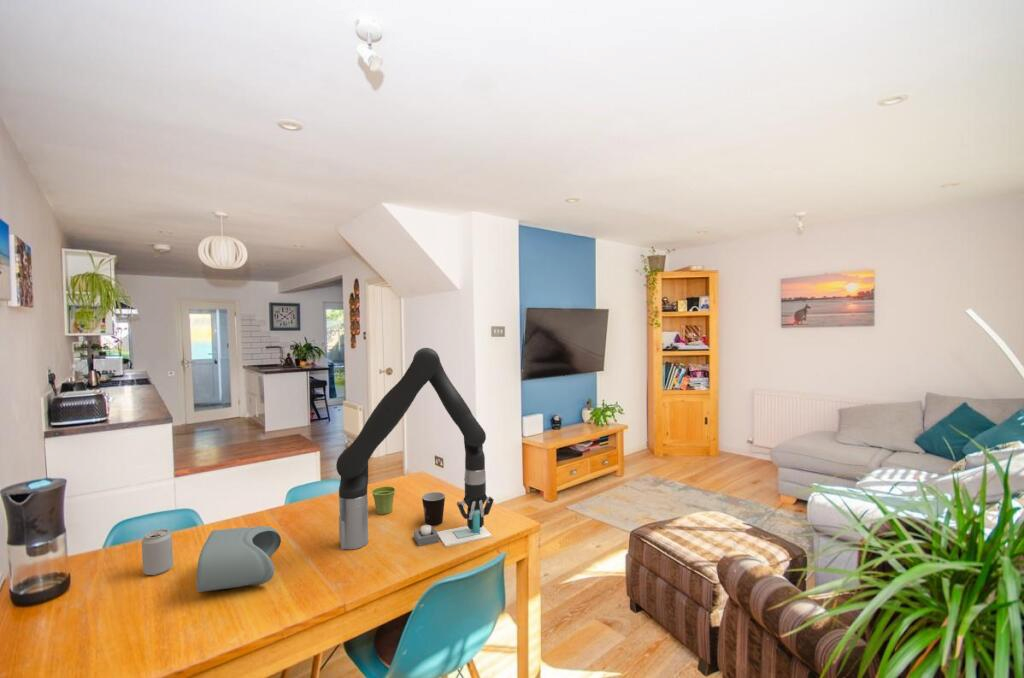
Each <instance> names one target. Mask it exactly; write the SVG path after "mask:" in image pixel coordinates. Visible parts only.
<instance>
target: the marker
mask: <svg viewBox="0 0 1024 678" xmlns="http://www.w3.org/2000/svg"><path fill="white" fill-rule="evenodd" d="M472 520H473V529H472V530H471V532H473V533H478V532H480V509H475V510H474V513H473V516H472Z"/></svg>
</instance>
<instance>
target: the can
mask: <svg viewBox="0 0 1024 678" xmlns="http://www.w3.org/2000/svg"><path fill="white" fill-rule="evenodd" d="M173 551H174V550H173V534H172V533H171V532H170V530H169V529H168V528H158V529H155V530H151V531H148V532H147V533H145V534H144V535H143V539H142V540H141V553H142V554H141V556H142V558H141V559H142V573H143V574H145V575H147V576H148V575H154V576H158V575H157V574H159V575H162V574H164V572H165V573H166V572H168V571H169V570H170V569H171V568H172V567H173V566H174V553H173ZM167 570H168V571H167ZM161 573H162V574H161Z"/></svg>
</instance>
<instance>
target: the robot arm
mask: <svg viewBox="0 0 1024 678" xmlns="http://www.w3.org/2000/svg"><path fill="white" fill-rule="evenodd" d="M428 382H429V384H431V386H432V388H433V389H434V391H435V392H436V394H437V396H438V398H439V400H440V402H441V403H442V405H443V407H444V409H445V411H446V413H447V414H448V415H449V416H450V418H451V420H452V421H453V423H454V424H455V425H456V426H457V427H458V429H459V431H460V432H461V434H462V436H463V444H464V445H463V446H464V451H465V452H464V454H465V455H464V478H463V479H464V497H463V500H462V501H458V502H456V506H457V508H458V510H459V513H460V514H461V517H463V519H465V520H466V521H467V522H466V524H467V525H466V526H468V528H469V529H470V530H472V529H473V520H472V516H473V513H474V510H475V509H480V528H481V527H482V526H484V523H485V521H484V520H485V519H484V517H485V516H486V515H487V516H488V515H489V514H490V513H491V512H490V511H491V509H492V505H493V504H494V498H492V496H487V494H486V492H487V485H486V484H487V483H486V482H487V480H486V479H487V478H486V477H487V476H486V475H487V473H486V460H485V458H486V457H485V456H486V455H485V451H484V449H483V448H484V444H485V442H486V439H487V436H486V431H485V429H483V427H482V425H480V423H479V422H478V421H477V419H476V418H475V416H474V415H473V412H472V411H471V408H470V407H469V405H468V404H467V403H466V401H465V400H464V398H463V397H462V396H461V394H460V393H459V391H458V390H457V389H456V386H454V384H453V383H452V382H451V380H450V378H449V377H448V375H447V373H446V370H445V369H444V367H443V365H442V362H441V360H440V356H439V354H438V352H437V351H436V350H434V349H433V348H430V347H423V348H419V349H418V350H417V351H416V352H415V353H414V355H413V358H412V361H411V363H410V364H409V366H408V368H407V369H406V370H405V372H404V374H403V376H402V377H401V379H400V380H399V381H398V382H397V383H396V384H395V385H394V386H393V387H391V389H390V390H389V391H387V393H386V394H385V395H384V396H383V397H382V398H381V400H380V401H379V402H378V404H377V405H376V406H375V408H374V409H373V411H372V412H371V414H370V416H369V417H368V419H367V420H366V422H365V423H364V425H363V427H362V429H361V430H360V432H359V434H358V435H357V436H356V438H355V439H354V441H353V442H352V443H351V444H350V445H349V446H348V447H346V448H345V449H343V451H342V452H341V454H339V456H338V458H337V459H336V465H335V468H336V471H337V472H336V473H338V475H339V477H340V480H339V481H340V482H339V487H338V503H339V504H338V506H339V509H338V510H339V515H338V528H339V529H338V536H339V539H338V540H339V545H340V549H341V551H342V550H356V549H360V548H361V549H362V548H363V547H366V545H367V544H369V510H368V509H369V508H368V507H369V504H368V502H369V501H368V486H369V460H370V458H372V455H373V454H374V452H375V451H376V449H378V447H379V445H380V444H381V443H382V442H384V440H385V439H386V438H387V437H388V436H389V435H390V434H391V432H392V431H393V430H394V429H395V427H396V426H397V425H398V424H399V423H400V422H401V420H402V418H403V417H404V416H405V414H406V413H407V412H408V410H409V408H410V407H411V405H413V402H414V400H415V399H416V396H417V395H418V393H420V391H421V390H422V389H423V388H424V386H425V385H426V384H427V383H428ZM465 506H466V507H467V510H466V509H465ZM465 510H466V511H467V512H466V511H465Z"/></svg>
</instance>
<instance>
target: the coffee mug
mask: <svg viewBox="0 0 1024 678" xmlns="http://www.w3.org/2000/svg"><path fill="white" fill-rule="evenodd" d="M421 500H422V501H421V502H422V507H423V514H424V521H425V525H430V526H431V527H434V526H435V527H436V526H440V525H442V524H443V520H444V513H445V511H444V510H445V502H446V494H445V493H443V492H440V491H439V492H438V491H433V492H431V491H430V492H427V493H425V494H423V495H422V496H421Z"/></svg>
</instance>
